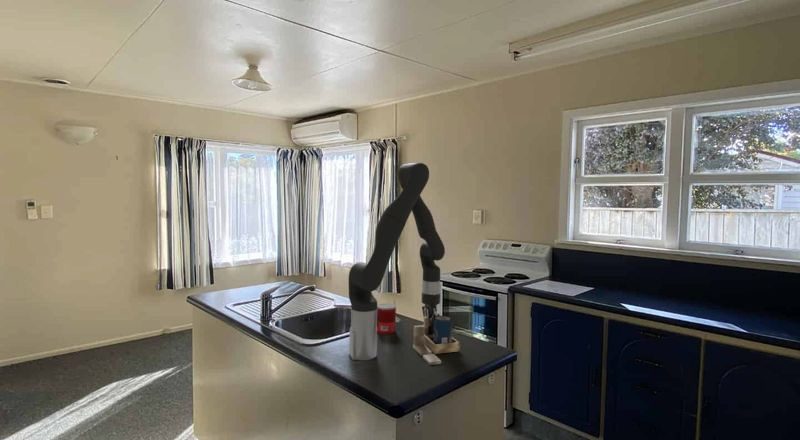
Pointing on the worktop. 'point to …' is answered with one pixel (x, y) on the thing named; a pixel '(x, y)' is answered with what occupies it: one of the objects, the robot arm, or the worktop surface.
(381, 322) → the canned food
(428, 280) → the robot arm
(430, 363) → the wooden l-shaped bracket
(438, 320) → the soda can
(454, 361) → the worktop surface
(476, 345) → the worktop surface
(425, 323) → the wooden caddy
